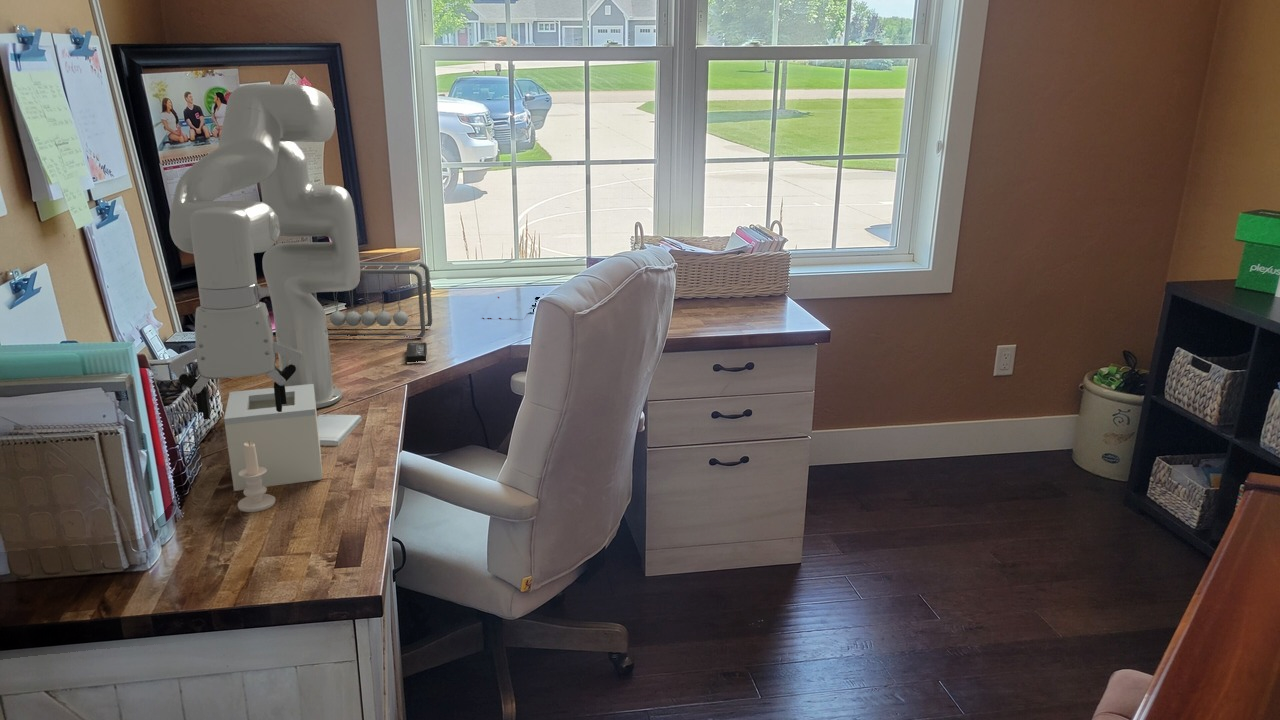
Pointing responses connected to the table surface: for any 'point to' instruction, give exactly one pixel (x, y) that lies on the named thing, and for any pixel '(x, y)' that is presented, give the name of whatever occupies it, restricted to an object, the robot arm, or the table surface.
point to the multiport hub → (416, 352)
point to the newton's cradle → (383, 316)
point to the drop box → (274, 435)
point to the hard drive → (336, 428)
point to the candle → (254, 483)
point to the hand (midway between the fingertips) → (243, 412)
